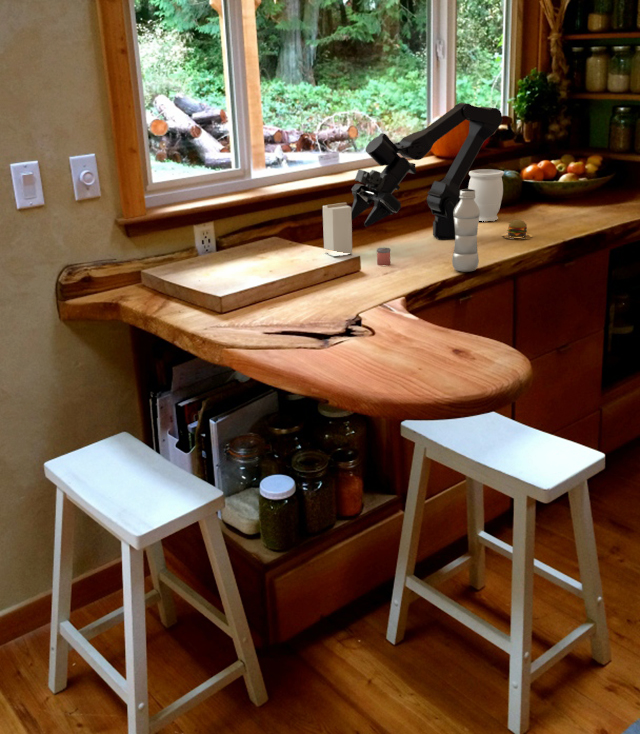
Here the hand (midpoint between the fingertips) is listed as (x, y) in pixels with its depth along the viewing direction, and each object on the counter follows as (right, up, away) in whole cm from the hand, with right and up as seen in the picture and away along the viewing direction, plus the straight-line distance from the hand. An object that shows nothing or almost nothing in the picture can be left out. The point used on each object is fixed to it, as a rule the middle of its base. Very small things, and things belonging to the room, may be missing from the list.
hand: (357, 222), depth 224 cm
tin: (+6, -13, -11) cm, 18 cm away
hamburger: (+46, -3, +12) cm, 48 cm away
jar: (+41, +7, +34) cm, 54 cm away
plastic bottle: (+26, -16, -20) cm, 36 cm away
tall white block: (-5, -8, +1) cm, 10 cm away
